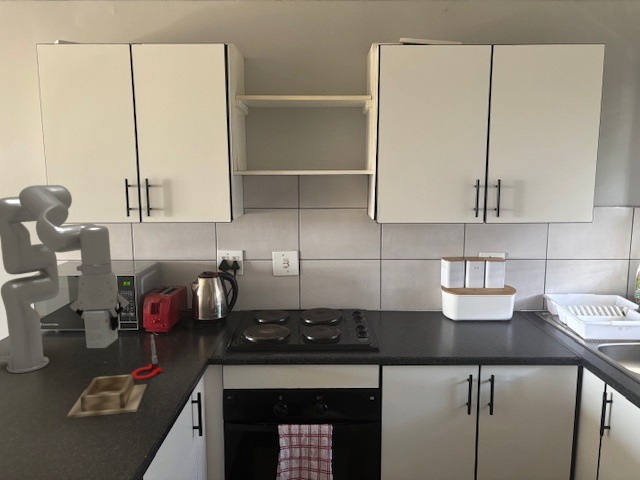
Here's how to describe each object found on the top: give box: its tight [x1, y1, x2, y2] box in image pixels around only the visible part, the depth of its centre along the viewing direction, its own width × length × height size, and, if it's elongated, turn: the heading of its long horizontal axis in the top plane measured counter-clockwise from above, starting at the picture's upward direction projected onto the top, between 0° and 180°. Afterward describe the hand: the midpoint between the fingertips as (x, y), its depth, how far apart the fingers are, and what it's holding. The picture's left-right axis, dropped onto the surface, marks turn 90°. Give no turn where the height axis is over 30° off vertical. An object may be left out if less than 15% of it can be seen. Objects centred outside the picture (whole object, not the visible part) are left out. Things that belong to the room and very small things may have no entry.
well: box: [66, 373, 147, 419], centre depth 136 cm, size 18×16×5 cm
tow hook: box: [130, 334, 164, 381], centre depth 154 cm, size 8×13×9 cm
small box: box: [84, 309, 119, 349], centre depth 134 cm, size 8×6×10 cm
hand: (101, 329), depth 134 cm, fingers closed on small box, 6 cm apart
